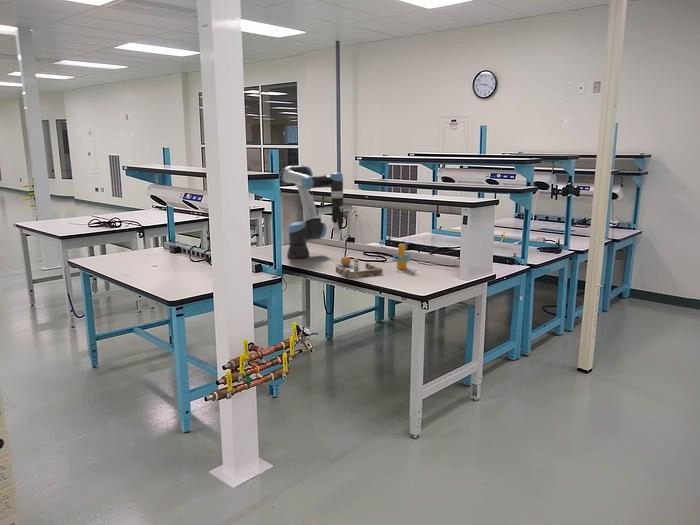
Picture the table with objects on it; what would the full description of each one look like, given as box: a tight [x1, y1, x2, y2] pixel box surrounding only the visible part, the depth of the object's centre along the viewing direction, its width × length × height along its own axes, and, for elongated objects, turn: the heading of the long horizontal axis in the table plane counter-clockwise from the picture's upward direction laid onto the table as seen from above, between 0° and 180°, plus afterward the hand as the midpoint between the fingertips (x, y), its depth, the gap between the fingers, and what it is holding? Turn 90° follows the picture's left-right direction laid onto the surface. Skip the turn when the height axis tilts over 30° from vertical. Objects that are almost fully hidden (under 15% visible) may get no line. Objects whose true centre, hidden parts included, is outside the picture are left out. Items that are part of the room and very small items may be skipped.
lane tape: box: [336, 263, 361, 270], centre depth 324 cm, size 30×8×1 cm, turn 24°
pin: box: [353, 256, 359, 271], centre depth 317 cm, size 2×2×8 cm
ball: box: [340, 255, 351, 266], centre depth 332 cm, size 6×6×6 cm
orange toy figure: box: [392, 243, 412, 270], centre depth 322 cm, size 12×10×15 cm
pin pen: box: [335, 262, 384, 278], centre depth 315 cm, size 19×22×3 cm
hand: (337, 233), depth 339 cm, fingers open, 6 cm apart
